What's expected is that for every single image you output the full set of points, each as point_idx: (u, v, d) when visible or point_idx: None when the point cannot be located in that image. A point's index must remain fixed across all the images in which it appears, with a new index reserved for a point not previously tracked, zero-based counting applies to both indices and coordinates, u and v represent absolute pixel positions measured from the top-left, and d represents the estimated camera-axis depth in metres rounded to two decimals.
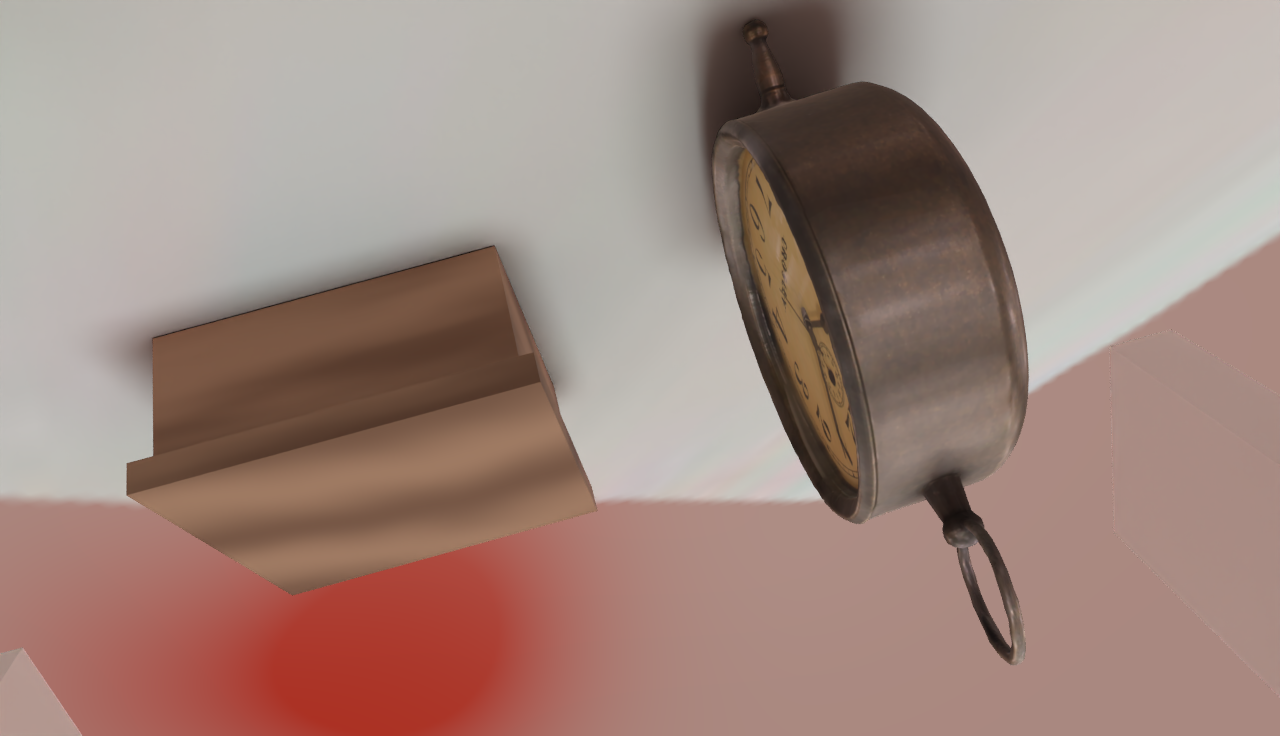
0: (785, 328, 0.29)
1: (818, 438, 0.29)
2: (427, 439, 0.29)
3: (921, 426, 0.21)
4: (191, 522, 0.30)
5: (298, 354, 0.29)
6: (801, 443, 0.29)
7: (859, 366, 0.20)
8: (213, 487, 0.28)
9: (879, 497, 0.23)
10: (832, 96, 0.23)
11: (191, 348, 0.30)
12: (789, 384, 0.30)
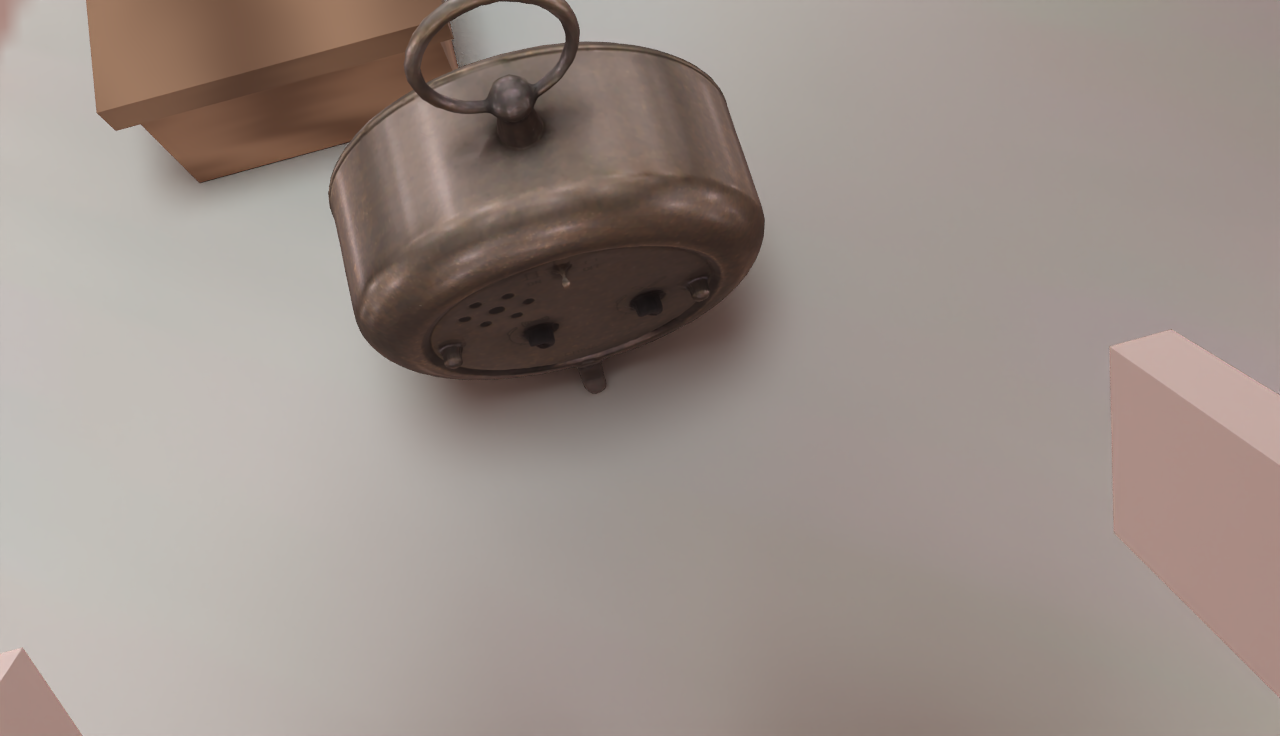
0: None
1: None
2: None
3: (626, 91, 0.22)
4: None
5: None
6: None
7: (678, 62, 0.23)
8: None
9: (525, 60, 0.21)
10: None
11: None
12: None
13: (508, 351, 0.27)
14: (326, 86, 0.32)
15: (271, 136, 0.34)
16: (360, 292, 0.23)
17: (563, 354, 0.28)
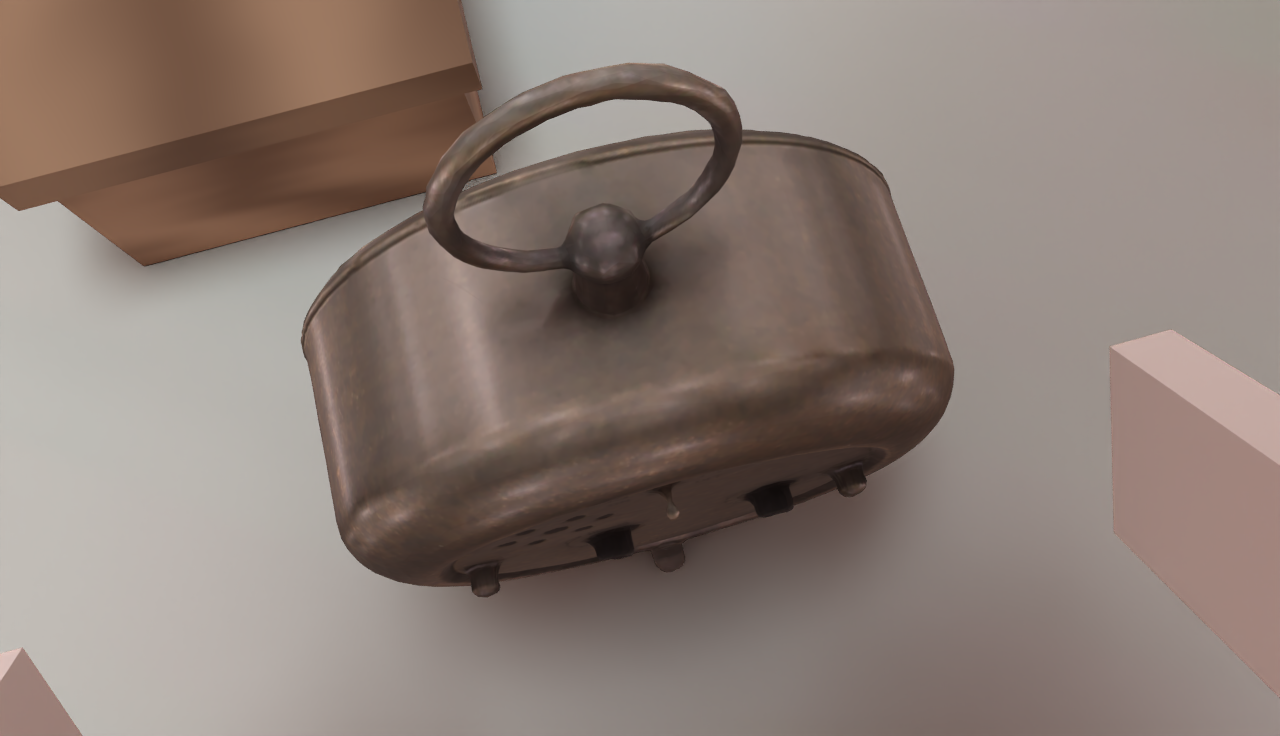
0: None
1: None
2: None
3: (779, 212, 0.13)
4: None
5: None
6: None
7: (844, 156, 0.15)
8: None
9: (616, 163, 0.13)
10: None
11: None
12: None
13: (562, 553, 0.18)
14: (309, 148, 0.24)
15: (236, 210, 0.25)
16: (345, 512, 0.15)
17: (637, 543, 0.20)
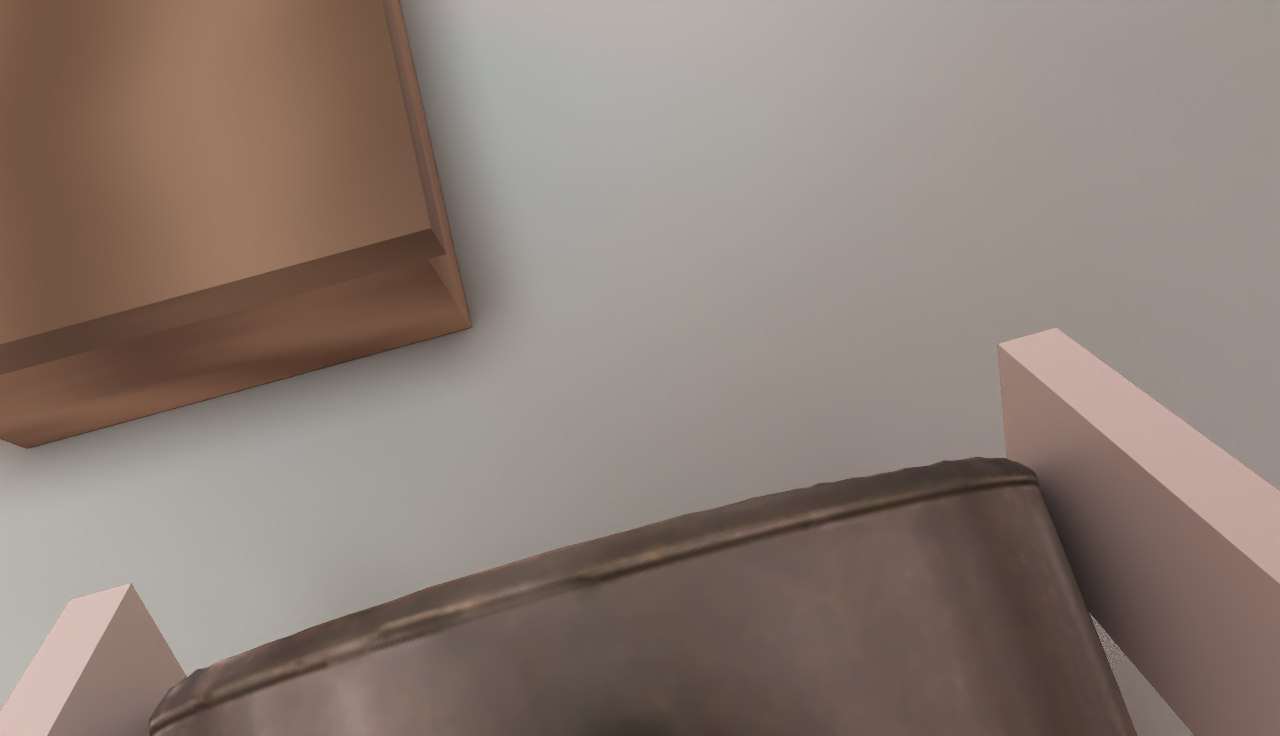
0: None
1: None
2: (305, 67, 0.17)
3: (914, 643, 0.08)
4: None
5: None
6: None
7: (996, 488, 0.09)
8: None
9: (641, 580, 0.08)
10: None
11: None
12: None
13: None
14: (223, 322, 0.18)
15: (137, 388, 0.20)
16: None
17: None
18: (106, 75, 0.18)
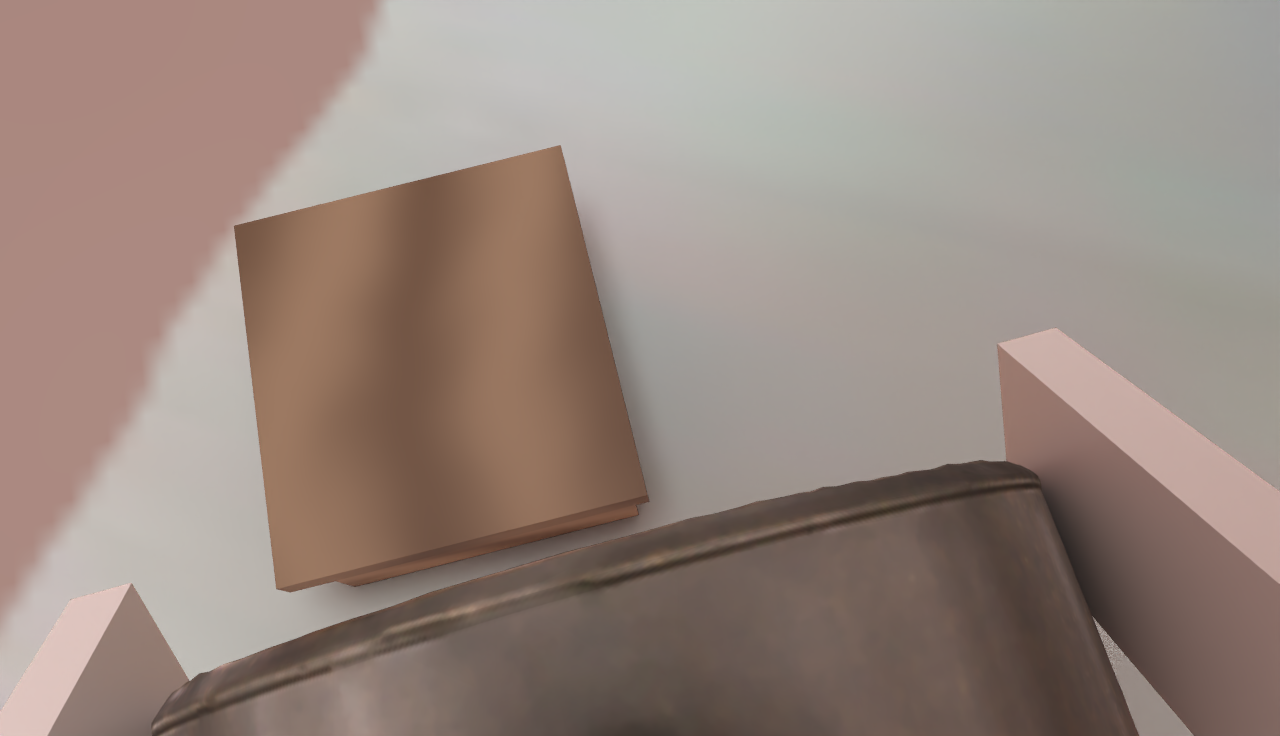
0: None
1: None
2: (566, 387, 0.29)
3: (919, 647, 0.08)
4: (481, 176, 0.32)
5: None
6: None
7: (999, 491, 0.09)
8: (545, 205, 0.31)
9: (645, 584, 0.08)
10: None
11: None
12: None
13: None
14: None
15: (438, 557, 0.32)
16: None
17: None
18: (446, 386, 0.30)
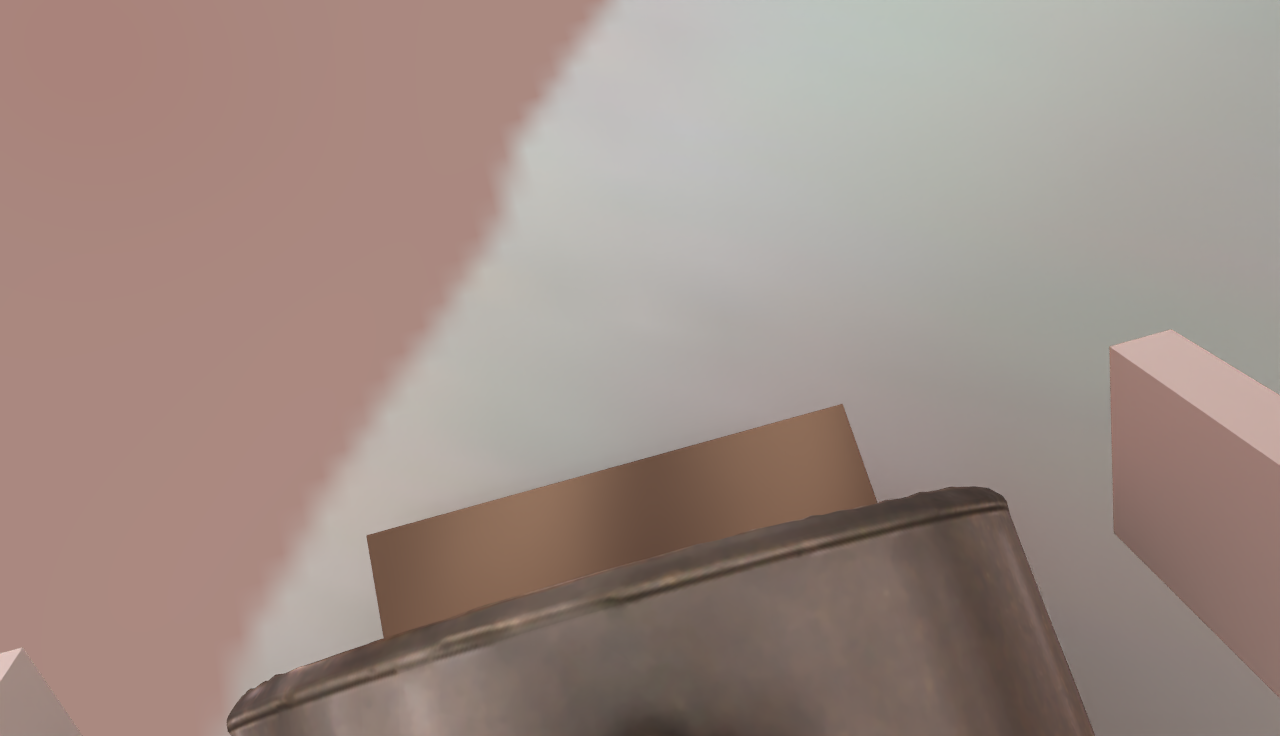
0: None
1: None
2: None
3: (891, 652, 0.09)
4: (729, 454, 0.22)
5: None
6: None
7: (965, 516, 0.11)
8: (832, 501, 0.21)
9: (660, 601, 0.09)
10: None
11: None
12: None
13: None
14: None
15: None
16: None
17: None
18: None
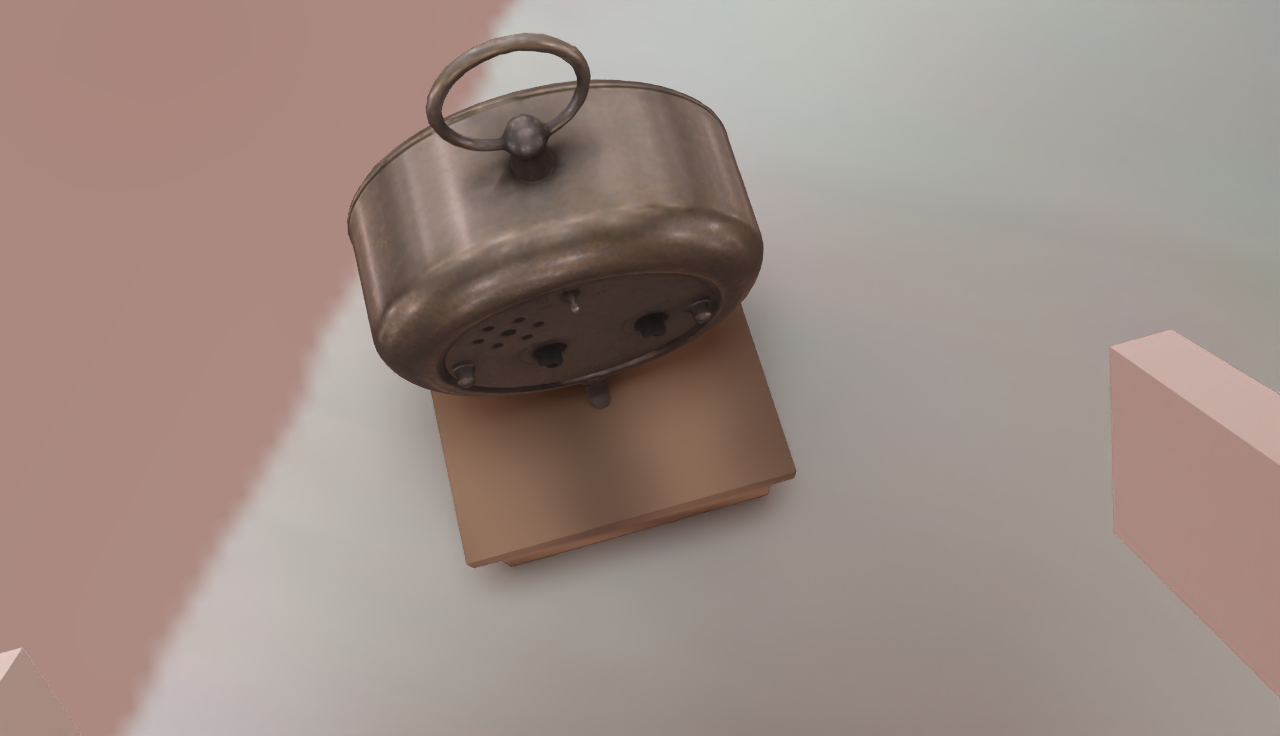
0: None
1: None
2: (715, 377, 0.33)
3: (633, 127, 0.23)
4: None
5: None
6: None
7: (681, 98, 0.24)
8: None
9: (537, 98, 0.23)
10: None
11: None
12: None
13: (517, 370, 0.28)
14: None
15: (591, 536, 0.35)
16: (378, 316, 0.24)
17: (570, 372, 0.29)
18: (606, 379, 0.33)
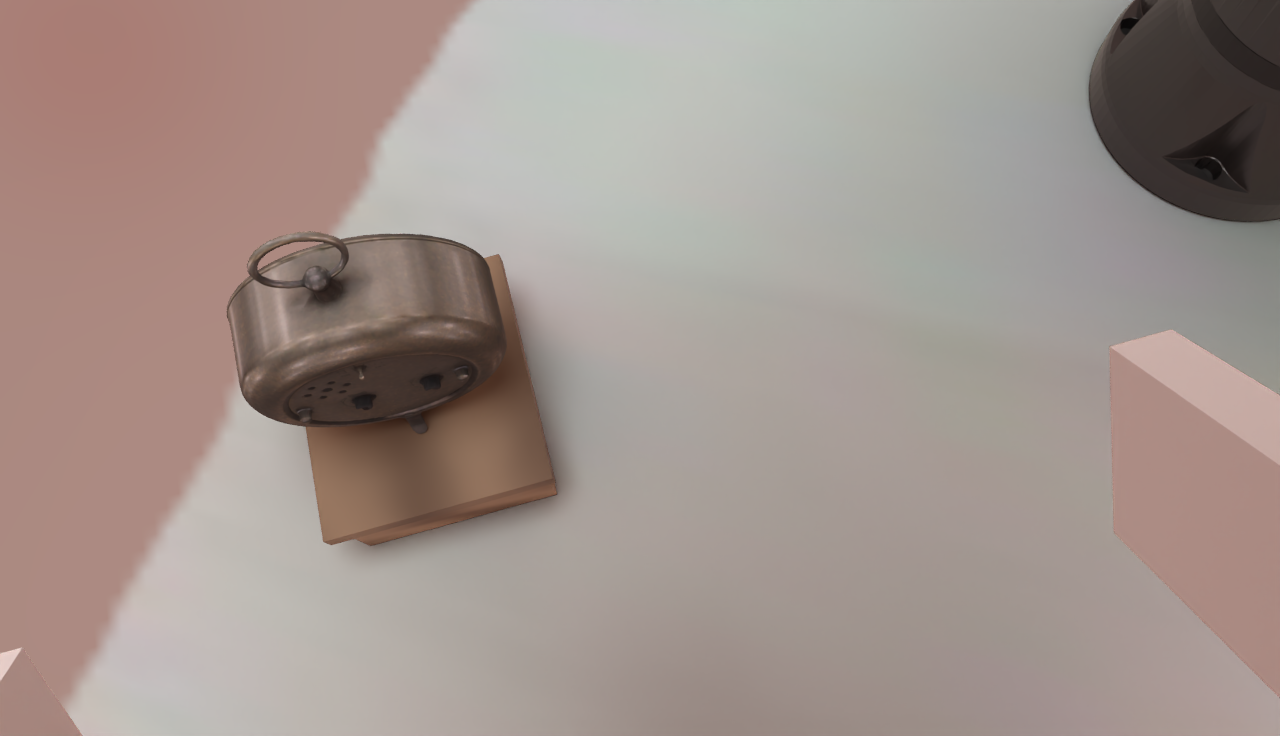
0: None
1: None
2: (502, 412, 0.47)
3: (395, 265, 0.37)
4: None
5: None
6: None
7: (435, 241, 0.38)
8: None
9: (333, 248, 0.36)
10: None
11: None
12: None
13: (346, 410, 0.42)
14: None
15: (424, 524, 0.49)
16: (241, 380, 0.38)
17: (388, 410, 0.43)
18: (426, 413, 0.47)
